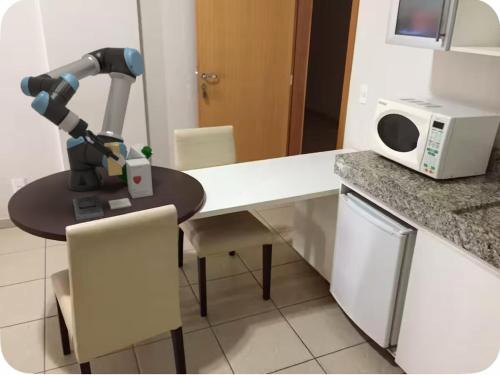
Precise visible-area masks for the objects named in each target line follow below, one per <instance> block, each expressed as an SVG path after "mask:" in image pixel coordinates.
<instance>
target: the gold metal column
mask: <svg viewBox="0 0 500 375" xmlns="http://www.w3.org/2000/svg"><path fill="white" fill-rule="evenodd" d="M104 145H105V146H106V147H107V148H109V149H110V150H111V151H114V152H115V153H116V154H118V155H119V156H120V150H119V144H118V143H117V142H113V143H104ZM106 162H107V168H106V169H107V174H108V176H109V177H111V176H119V175H120V174H122V166H121V165H119V164H118V163H117V162H115V161H114V160H112V159H111V158H110V157H109V158H107V156H106Z"/></svg>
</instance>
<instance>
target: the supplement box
mask: <svg viewBox="0 0 500 375" xmlns="http://www.w3.org/2000/svg"><path fill="white" fill-rule="evenodd" d="M126 161H127V162H126V169H127V180H128V184H127V189H128V190H127V191H128V192H129V194H130V196H131V198H132V199H138V198H145V197H149V196H150V197H151V196H153V195H154V192H153V181H152V180H153V179H152V167H151V162H150V160H149V161H148V160H147V159H146V158H140V159H132V160H126Z"/></svg>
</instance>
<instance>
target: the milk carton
mask: <svg viewBox="0 0 500 375" xmlns="http://www.w3.org/2000/svg"><path fill="white" fill-rule="evenodd" d="M153 154H154V151H153V149H152V147H150V146H147V145H145V144H143V143H142V142H139V143H136V144H134V145H131V146H130V149H129V152H128V153H127V157H126V160H132V159H140V158H146V159H147V160H148V161H149V162H150V160H151V158H152V156H153ZM121 168H122V174H120V175H117V177H118V178H120V179H121V180H122V181H123V182H125V183H126V184H127V185H128V180H127V169H126V163H125V164H124V166H123V167H122V166H121Z"/></svg>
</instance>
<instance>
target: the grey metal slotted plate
mask: <svg viewBox="0 0 500 375" xmlns="http://www.w3.org/2000/svg"><path fill="white" fill-rule="evenodd" d="M72 204H73V210H74V214H75V220H76V221H82V220H89V219H95V218H102V217H104V215H105V214H104V210H103V207H102V203H101V200H100V197H99V195H98V194H97V195H92V196H84V197H76V198H72Z"/></svg>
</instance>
